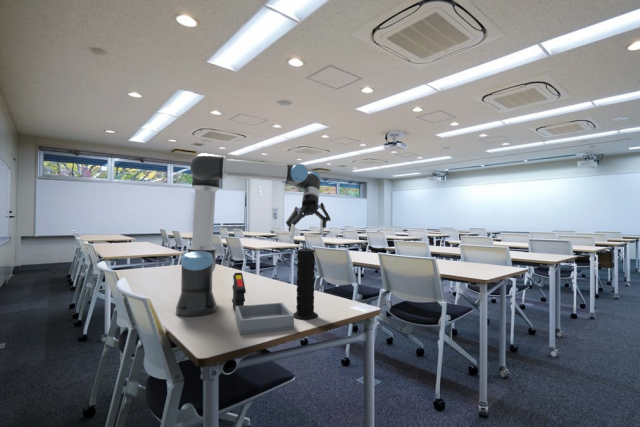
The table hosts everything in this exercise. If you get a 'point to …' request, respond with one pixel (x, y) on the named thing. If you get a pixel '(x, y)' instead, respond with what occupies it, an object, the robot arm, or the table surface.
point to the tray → (263, 318)
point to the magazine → (238, 290)
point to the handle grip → (305, 285)
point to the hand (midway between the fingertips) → (306, 235)
